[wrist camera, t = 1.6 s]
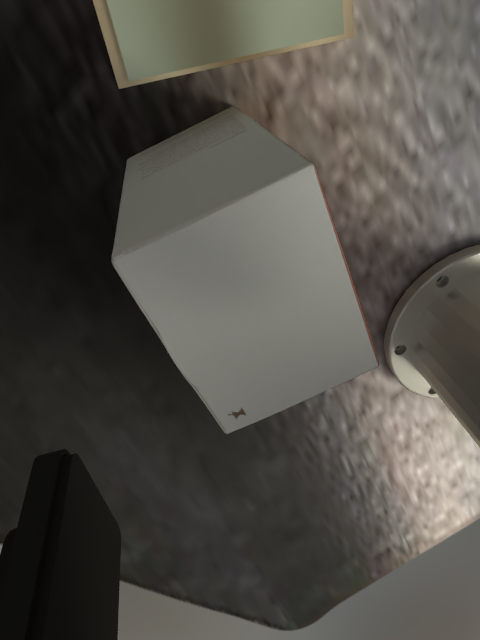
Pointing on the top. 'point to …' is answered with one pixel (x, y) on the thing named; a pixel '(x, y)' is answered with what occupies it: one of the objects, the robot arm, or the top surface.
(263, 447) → the top surface
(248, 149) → the small box
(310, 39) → the plinth
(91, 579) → the robot arm
